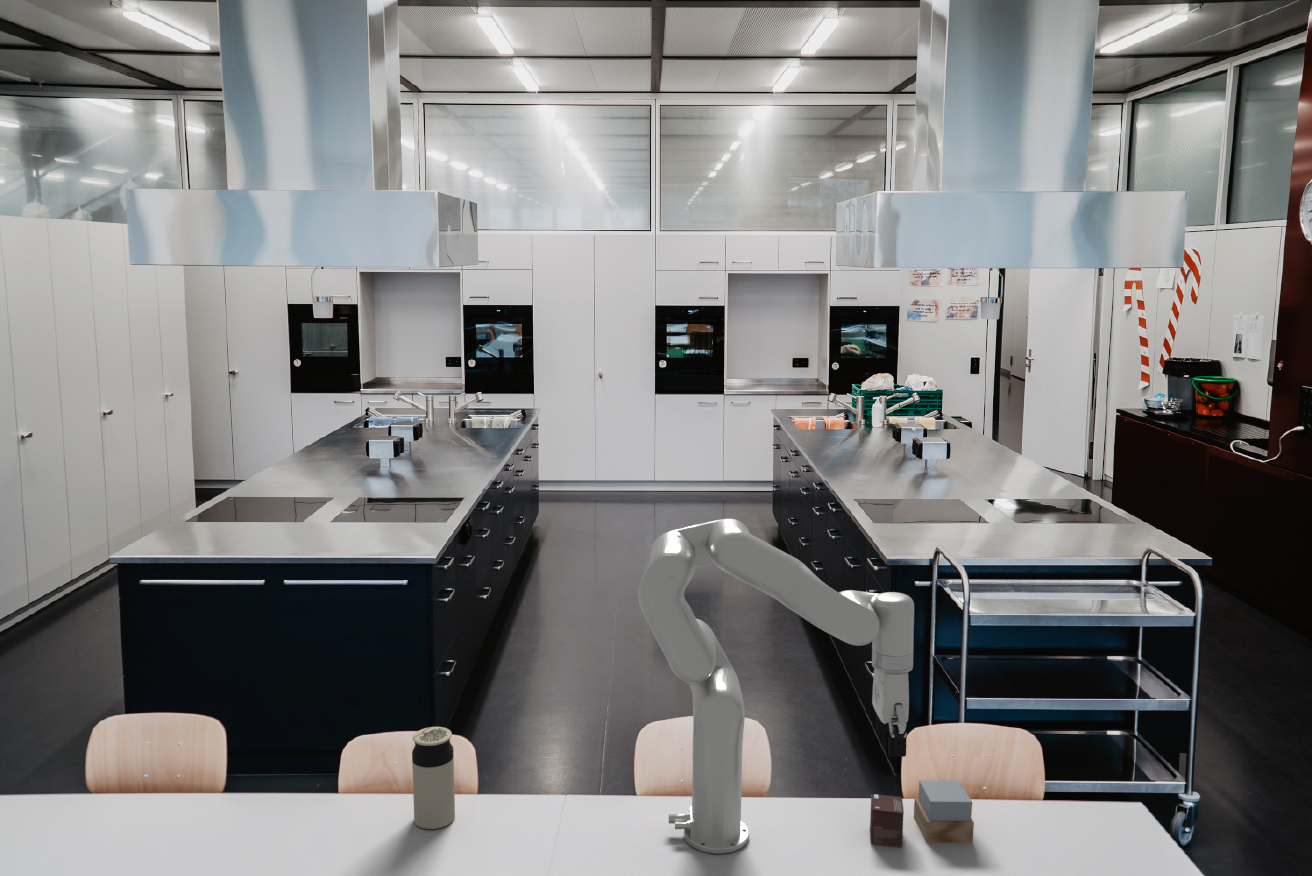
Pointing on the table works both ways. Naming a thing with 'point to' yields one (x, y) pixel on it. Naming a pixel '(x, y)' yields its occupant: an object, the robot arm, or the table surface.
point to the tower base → (942, 828)
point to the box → (886, 820)
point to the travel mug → (433, 778)
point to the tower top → (945, 801)
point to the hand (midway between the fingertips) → (890, 743)
